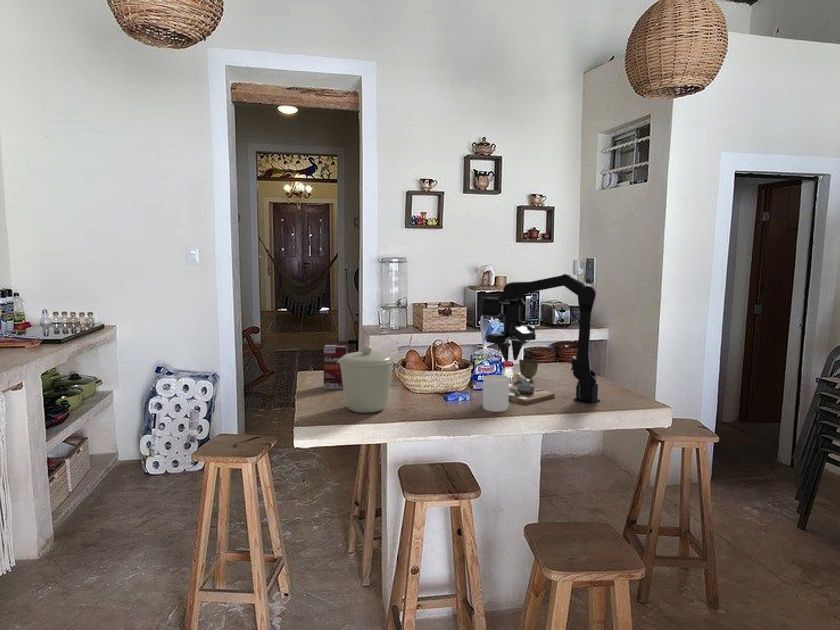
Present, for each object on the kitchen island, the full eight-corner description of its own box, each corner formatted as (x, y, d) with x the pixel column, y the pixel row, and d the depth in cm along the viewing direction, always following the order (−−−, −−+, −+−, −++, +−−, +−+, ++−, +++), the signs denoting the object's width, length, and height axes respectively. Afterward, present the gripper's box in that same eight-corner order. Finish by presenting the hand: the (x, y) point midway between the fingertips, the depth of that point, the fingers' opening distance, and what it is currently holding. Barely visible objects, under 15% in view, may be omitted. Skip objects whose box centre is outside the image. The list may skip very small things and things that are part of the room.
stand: (555, 397, 194) (555, 388, 193) (525, 404, 184) (526, 395, 184) (523, 388, 206) (523, 379, 205) (493, 395, 196) (494, 385, 196)
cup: (539, 382, 215) (539, 362, 214) (520, 382, 215) (520, 362, 214) (535, 378, 222) (536, 358, 221) (517, 377, 223) (517, 358, 222)
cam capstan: (537, 393, 192) (537, 379, 191) (520, 394, 190) (521, 380, 190) (524, 385, 203) (524, 372, 202) (508, 386, 201) (509, 372, 201)
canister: (340, 401, 188) (339, 340, 185) (393, 400, 189) (393, 340, 187) (337, 418, 170) (336, 350, 167) (395, 416, 171) (395, 349, 169)
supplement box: (323, 389, 204) (322, 347, 202) (325, 386, 208) (324, 344, 207) (346, 389, 204) (346, 346, 202) (348, 385, 209) (347, 344, 207)
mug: (487, 381, 175) (477, 372, 186) (487, 412, 176) (476, 402, 188) (512, 380, 176) (500, 371, 188) (511, 411, 177) (500, 401, 189)
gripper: (506, 322, 184) (505, 368, 186) (547, 318, 194) (545, 362, 196) (485, 318, 193) (484, 362, 195) (525, 315, 203) (524, 356, 205)
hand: (510, 360), depth 197 cm, fingers open, 4 cm apart
